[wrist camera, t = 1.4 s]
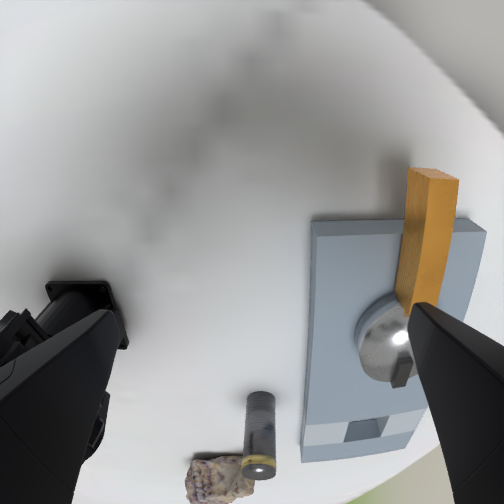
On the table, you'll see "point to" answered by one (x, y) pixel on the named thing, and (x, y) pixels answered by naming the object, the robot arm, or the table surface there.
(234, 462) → the mineral specimen
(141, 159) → the table surface
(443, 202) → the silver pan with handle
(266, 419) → the pin
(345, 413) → the plate
